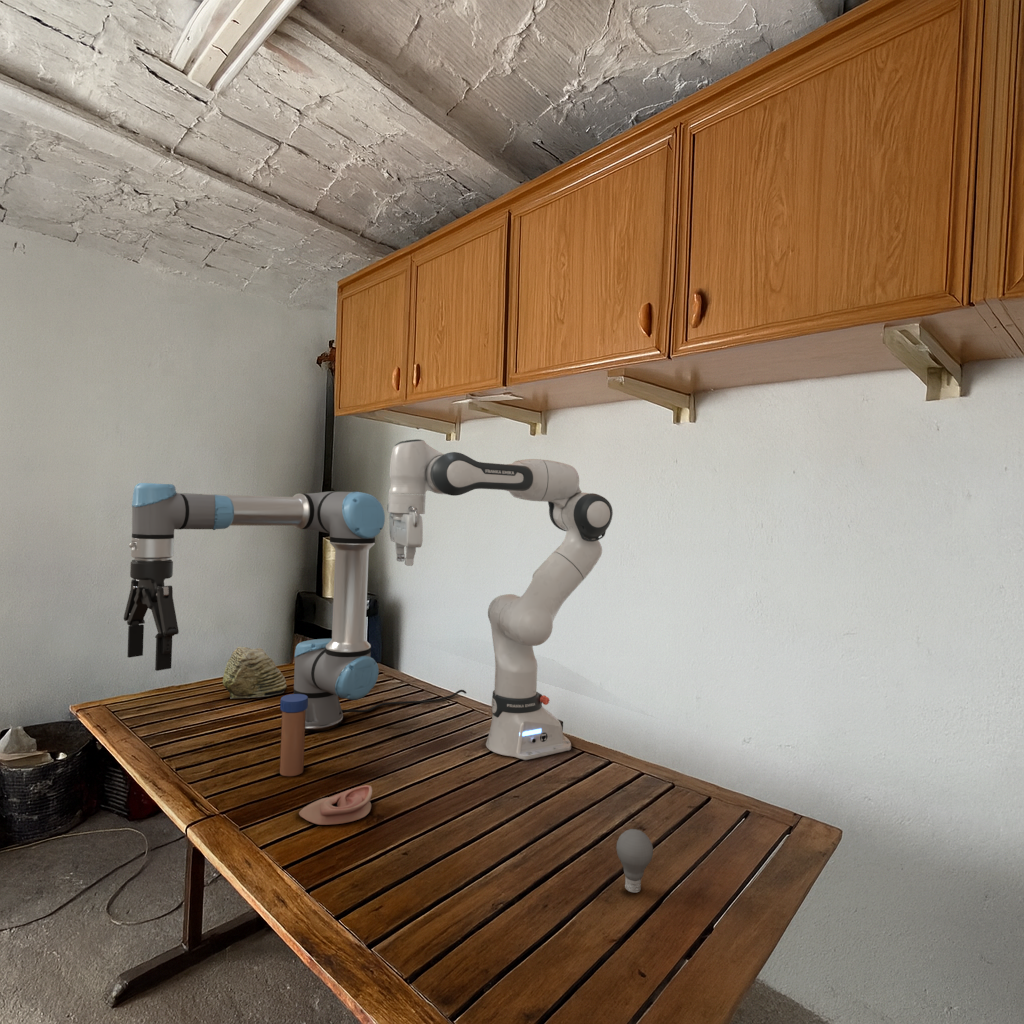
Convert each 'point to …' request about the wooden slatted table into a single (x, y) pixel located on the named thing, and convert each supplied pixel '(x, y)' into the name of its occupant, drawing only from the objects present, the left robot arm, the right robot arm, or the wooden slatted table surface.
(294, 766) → the jar
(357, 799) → the anatomical model
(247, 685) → the fossil
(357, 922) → the wooden slatted table surface
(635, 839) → the light bulb
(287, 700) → the lid
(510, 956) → the wooden slatted table surface
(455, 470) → the right robot arm
